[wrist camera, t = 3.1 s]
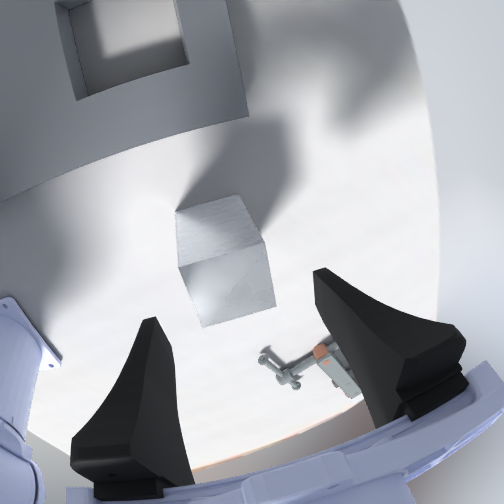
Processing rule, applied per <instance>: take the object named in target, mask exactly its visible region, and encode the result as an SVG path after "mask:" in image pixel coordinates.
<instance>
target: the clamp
mask: <svg viewBox="0 0 504 504" xmlns="http://www.w3.org/2000/svg"><path fill="white" fill-rule="evenodd" d="M338 349H339V347H338V345H337V343H336V342H334V343H332V344H330V345H329V346H327V345H326V343H324V344H319V345H317V346H316V347H314V349H313V350H312V351H313V354H314V355H313V356H311V357H310V358H308V359H306V360H305V361H303V362H301V363H300V364H298V365H296V366H295V367H293V368H291V369H289V368H286V369H284V370H283V371H281V370H280V369H278V368H277V367H276V366H275V365H274V364H272V363H271V362H270V361H269V360H268V356H267V355H262V356H260V357H259V359H258V363H259V364H260V365H266V366H267V367H268V368H269V369H271V370H272V371H273V372H275V373H276V379H277V381H278V382H279V384H281V385H284V384H286V383H289V384H290V385H292V388H293V390H298V389H300V387H301V384H300V382H295V381H294V380H293V379H294V376H295V375H296V374H298V373H300V372H302V371H303V370H305V369H307V368H308V367H310V366H312V365H313V364H315V363H317V365H318V366H319V367H320V368H321V369H322V370H323V371H324V372H325V373H326V374H327V375H328V376H329V377H330V378H331V379H332V383H333V384H334V386H335V387H336V388H337V387H340V388H341V389H342V390H343V391H344V393H345V395H346V396H347V397H348V398H349V397H350V398H351V399H352V398H354V397H356V396H358V395H359V394H361V393H362V392H361V389H360V387H359V385H358V382H357V380H356V378H355V376H354V374H353V371H352V369H350V370H347V369H346V368H345V366H344V365H343V364H342V363H341V362H340V360H339V359H338V358H337V357H336V356H335V354H334V353H333V352H334V351H336V350H338Z"/></svg>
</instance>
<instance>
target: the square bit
mask: <svg viewBox="0 0 504 504" xmlns="http://www.w3.org/2000/svg"><path fill="white" fill-rule="evenodd" d="M175 224H176V241H177V255H178V268H179V270H180V273H181V275H182V278H183V281H184V283H185V286H186V288H187V291H188V293H189V296H190V298H191V301H192V303H193V306H194V308H195V311H196V313H197V316H198V318H199V320H200V323H201V325H202V328H204V327H207V326H211V325H215V324H218V323H222V322H225V321H229V320H232V319H236V318H239V317H243V316H246V315H250V314H253V313H256V312H260V311H263V310H266V309H270V308H273V307H276V301H275V295H274V290H273V284H272V279H271V273H270V268H269V262H268V257H267V251H266V246H265V242H264V240H263V238H262V236H261V234H260V233H259V231H258V229H257V227H256V225H255V223H254V221H253V219H252V218H251V216H250V214H249V212H248V210H247V208H246V206H245V205H244V203H243V201H242V199H241V197H240V195H239V194H236V195H233V196H229V197H225V198H221V199H218V200H214V201H211V202H207V203H203V204H200V205H196V206H193V207H189V208H186V209H183V210H179V211H176V212H175Z"/></svg>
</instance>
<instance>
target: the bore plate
mask: <svg viewBox="0 0 504 504" xmlns="http://www.w3.org/2000/svg"><path fill="white" fill-rule="evenodd" d="M89 1H91V0H0V203H1V202H3V201H5V200H7V199H9V198H11V197H13V196H15V195H17V194H19V193H21V192H24V191H26V190H28V189H30V188H32V187H34V186H37V185H39V184H41V183H43V182H45V181H48V180H50V179H52V178H55V177H57V176H59V175H62V174H64V173H67V172H69V171H72V170H74V169H77V168H79V167H82V166H84V165H87V164H89V163H92V162H95V161H97V160H100V159H103V158H105V157H108V156H111V155H114V154H117V153H119V152H122V151H125V150H128V149H131V148H134V147H137V146H140V145H143V144H147V143H150V142H153V141H156V140H160V139H163V138H166V137H170V136H173V135H177V134H180V133H184V132H187V131H191V130H195V129H198V128H202V127H206V126H210V125H214V124H218V123H222V122H227V121H231V120H235V119H240V118H244V117H249V113H248V108H247V102H246V97H245V92H244V87H243V82H242V77H241V72H240V67H239V62H238V57H237V52H236V47H235V43H234V38H233V33H232V28H231V23H230V19H229V14H228V9H227V5H226V0H173V1H174V6H175V10H176V15H177V19H178V24H179V29H180V33H181V38H182V42H183V47H184V51H185V55H186V60H187V64H188V65H184V66H180V67H177V68H173V69H169V70H166V71H162V72H158V73H155V74H152V75H148V76H145V77H142V78H139V79H136V80H132V81H129V82H126V83H123V84H121V85H118V86H115V87H112V88H109V89H107V90H104V91H101V92H99V93H96V94H93V95H91V96H88V93H87V89H86V85H85V82H84V78H83V74H82V70H81V66H80V62H79V57H78V53H77V49H76V44H75V40H74V35H73V30H72V26H71V21H70V15H69V9H72V8H74V7H76V6H79V5H81V4H84V3H86V2H89Z"/></svg>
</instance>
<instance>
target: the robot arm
mask: <svg viewBox="0 0 504 504" xmlns="http://www.w3.org/2000/svg"><path fill="white" fill-rule="evenodd" d="M313 280H314V294H315V305H316V307H317V309H318V312H319V314H320V316H321V318H322V320H323V322H324V324H325V326H326V327H327V329H328V330H329V332H330V334H331V335H332V337H333V339H334V340H335V342H336V343H337V345H338V347H339V348H340V350H341V351H342V353H343V355H344V356H345V358H346V360H347V361H348V363H349V365H350V367H351V369H352V371H353V374H354V376H355V378H356V380H357V382H358V385H359V387H360V389H361V392H362V394H363V396H364V399H365V401H366V404H367V406H368V409H369V411H370V414H371V416H372V419H373V422H374V425H375V428H376V430H373V431H372V432H369V433H367V434H364V435H362V436H360V437H357V438H355V439H353V440H350V441H348V442H345V443H343V444H340V445H338V446H335V447H332V448H330V449H327V450H324V451H321V452H319V453H316V454H313V455H310V456H307V457H304V458H301V459H298V460H295V461H292V462H289V463H285V464H282V465H278V466H275V467H271V468H268V469H264V470H260V471H256V472H253V473H249V474H244V475H240V476H236V477H231V478H226V479H222V480H217V481H211V482H206V483H200V484H195V482H194V478H193V475H192V472H191V469H190V465H189V462H188V458H187V454H186V450H185V446H184V442H183V437H182V433H181V428H180V423H179V418H178V410H177V397H176V379H175V364H174V358H173V352H172V346H171V344H170V342H169V341H168V339H167V337H166V335H165V333H164V331H163V329H162V328H161V326H160V324H159V322H158V320H157V318H156V317H152V318H148V319H144V320H143V321H142V323H141V326H140V328H139V331H138V334H137V336H136V339H135V341H134V344H133V346H132V349H131V351H130V353H129V356H128V358H127V360H126V363H125V365H124V367H123V369H122V371H121V373H120V375H119V377H118V379H117V381H116V383H115V384H114V386H113V388H112V390H111V391H110V393H109V394H108V396H107V397H106V399H105V400H104V402H103V403H102V405H101V406H100V407H99V409H98V410H97V411H96V413H95V414H94V415H93V416H92V418H91V419H90V420H89V421H88V422H87V423H86V425H85V426H84V427H83V428H82V429H81V430H80V431H79V432H78V433H77V434H76V435H75V436H74V437H73V438H72V442H71V457H70V466H71V467H72V469H73V470H74V471H75V472H77V473H78V474H80V475H82V476H83V477H85V478H87V479H89V480H90V481H92V482H94V489H93V488H89V487H66V504H417V503H416V501H415V499H414V497H413V495H412V493H411V491H410V489H409V487H408V485H407V483H406V482H408V481H410V480H412V479H413V478H415V477H417V476H419V475H420V474H422V473H423V472H425V471H427V470H428V469H430V468H432V467H433V466H435V465H436V464H438V463H439V462H441V461H442V460H444V459H445V458H447V457H448V456H450V455H451V454H453V453H454V452H456V451H457V450H458V449H460V448H461V447H463V446H464V445H465V444H467V443H468V442H469V441H471V440H472V439H474V438H475V437H476V436H478V435H479V434H480V433H482V432H483V431H484V430H486V429H487V428H488V427H490V426H491V425H492V424H493V423H494V422H495V421H496V420H497V419H498V418H499V416H500V415H501V414H502V413H503V412H504V382H503V381H502V380H501V378H500V377H499V376H498V375H497V373H496V372H495V371H494V369H493V368H492V367H491V365H490V364H489V363H488V362H487V361H483V362H482V363H481V364H479V365H478V366H476V367H475V368H473V369H472V370H470V371H469V372H468V373H467V374H466V375H465V376H463V374H462V373H461V371H462V367H461V365H460V364H459V363H458V362H459V360H460V358H461V356H462V353H463V351H464V349H465V346H466V339H465V338H464V337H463V335H462V334H461V333H460V332H459V330H458V329H457V328H455V326H454V325H452V324H446V323H440V322H435V321H431V320H427V319H423V318H419V317H416V316H413V315H410V314H407V313H404V312H402V311H399V310H397V309H394V308H392V307H390V306H387V305H385V304H383V303H381V302H379V301H377V300H375V299H373V298H372V297H370V296H368V295H366V294H365V293H363V292H361V291H360V290H358V289H357V288H355V287H353V286H352V285H350V284H349V283H347V282H346V281H344V280H343V279H342V278H340V277H339V276H337V275H336V274H334V273H333V272H332V271H330V270H329V269H327V268H326V267H325V268H322V269H319V270H315V271H313ZM5 304H6V305H5ZM60 367H61V361H60V360H59V359H58V357H57V356H56V355H55V354H54V353H53V351H52V350H51V349H50V348H49V346H48V345H47V344H46V343H45V341H44V340H43V339H42V337H41V336H40V335H39V333H38V332H37V331H36V329H35V328H34V327H33V325H32V324H31V323H30V321H29V320H28V318H27V317H26V316H25V314H24V313H23V311H22V310H21V308H20V307H19V306H18V304H17V303H16V301H15V300H14V299H13V298H12V297H6V298H3V299H0V504H45V486H44V481H43V476H42V474H41V471H40V469H39V467H38V466H37V465H36V464H35V463H34V462H33V461H32V460H31V457H32V448H31V447H29V446H28V445H27V444H25V438H26V431H27V425H28V419H29V414H30V408H31V403H32V398H33V393H34V389H35V384H36V380H37V376H38V372H40V371H46V370H51V369H56V368H60Z"/></svg>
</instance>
